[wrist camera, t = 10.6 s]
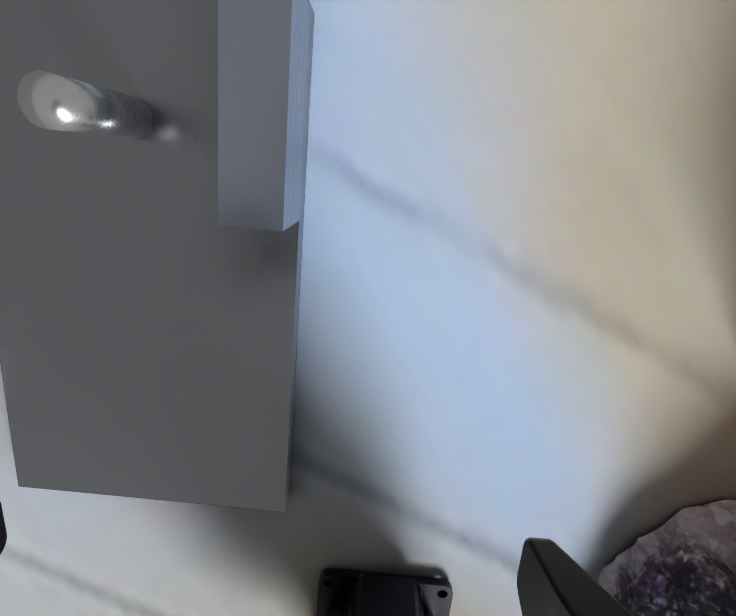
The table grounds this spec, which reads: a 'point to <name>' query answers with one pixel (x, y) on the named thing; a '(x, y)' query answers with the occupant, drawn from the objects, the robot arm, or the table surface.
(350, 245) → the table surface
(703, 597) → the crystal cluster
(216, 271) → the plate
